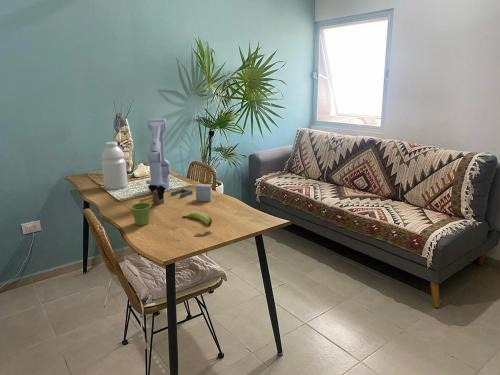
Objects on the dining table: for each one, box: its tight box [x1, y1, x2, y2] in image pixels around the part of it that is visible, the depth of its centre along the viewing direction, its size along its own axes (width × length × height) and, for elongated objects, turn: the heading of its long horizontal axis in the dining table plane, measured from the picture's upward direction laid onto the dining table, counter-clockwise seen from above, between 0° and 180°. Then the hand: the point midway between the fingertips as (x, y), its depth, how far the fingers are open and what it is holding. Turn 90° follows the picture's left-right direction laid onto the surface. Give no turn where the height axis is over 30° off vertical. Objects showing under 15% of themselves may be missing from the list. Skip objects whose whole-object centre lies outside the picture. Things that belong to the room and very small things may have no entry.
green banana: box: [181, 209, 213, 237], centre depth 177 cm, size 35×27×4 cm
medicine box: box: [195, 183, 213, 202], centre depth 206 cm, size 8×4×9 cm, turn 84°
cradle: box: [170, 188, 194, 199], centre depth 216 cm, size 8×10×2 cm
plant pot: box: [129, 202, 152, 226], centre depth 173 cm, size 9×9×9 cm
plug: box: [152, 190, 165, 206], centre depth 201 cm, size 4×4×7 cm
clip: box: [138, 195, 153, 203], centre depth 203 cm, size 12×2×2 cm, turn 144°
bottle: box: [100, 141, 129, 191], centre depth 228 cm, size 14×14×28 cm
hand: (157, 198), depth 201 cm, fingers closed on plug, 4 cm apart
